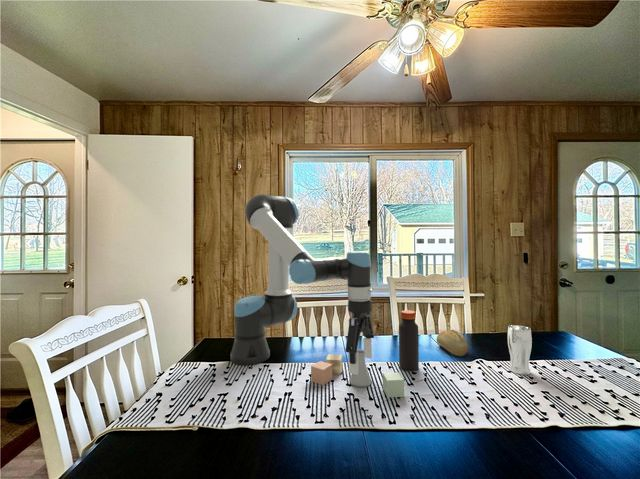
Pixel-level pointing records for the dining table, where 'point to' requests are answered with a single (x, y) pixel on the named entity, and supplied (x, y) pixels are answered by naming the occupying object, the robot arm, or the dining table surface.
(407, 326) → the bottle
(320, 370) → the terracotta block
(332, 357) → the maple block
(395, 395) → the sage block
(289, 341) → the dining table surface
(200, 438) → the dining table surface
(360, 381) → the flask
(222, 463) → the dining table surface
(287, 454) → the dining table surface
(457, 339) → the bread roll
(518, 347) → the beer glass
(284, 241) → the robot arm
